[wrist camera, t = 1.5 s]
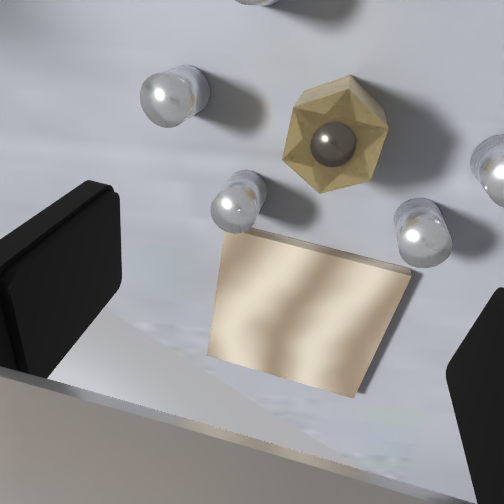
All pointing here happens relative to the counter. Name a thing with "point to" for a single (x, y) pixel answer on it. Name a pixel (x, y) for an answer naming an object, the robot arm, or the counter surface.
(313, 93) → the brass nut
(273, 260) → the pad
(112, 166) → the counter surface
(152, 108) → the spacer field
